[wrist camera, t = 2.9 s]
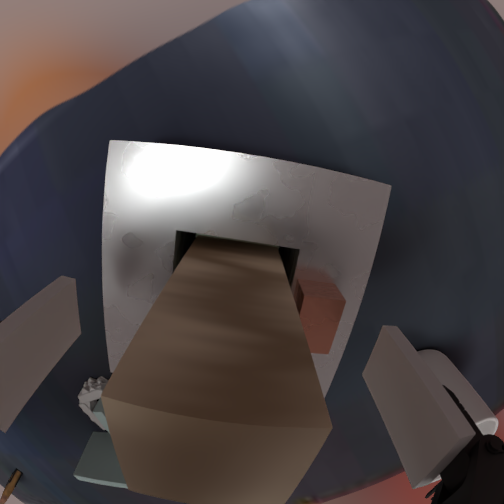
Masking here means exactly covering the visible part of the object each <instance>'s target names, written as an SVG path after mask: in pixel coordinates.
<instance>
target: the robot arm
mask: <svg viewBox="0 0 504 504" xmlns="http://www.w3.org/2000/svg"><path fill="white" fill-rule="evenodd" d="M80 334H81V328H80V321H79V312H78V303H77V292H76V279H74V278H70V277H65V276H60V277H59V278H58V279H56V280H55V281H53V282H52V283H51V284H49V285H48V286H47V287H45V288H44V289H43V290H41V291H40V292H39V293H37V294H36V295H35V296H33V297H32V298H31V299H30V300H28V301H27V302H26V303H24V304H23V305H22V306H21V307H19V308H18V309H17V310H16V311H14V312H13V313H12V314H11V315H9V316H8V317H7V318H6V319H4V320H3V321H0V430H1V431H3V432H4V433H6V431H7V430H8V428H9V427H10V425H11V424H12V422H13V421H14V419H15V418H16V417H17V415H18V414H19V412H20V411H21V410H22V408H23V407H24V405H25V404H26V403H27V401H28V400H29V399H30V397H31V396H32V395H33V393H34V392H35V391H36V389H37V388H38V387H39V385H40V384H41V383H42V381H43V380H44V379H45V377H46V376H47V375H48V374H49V372H50V371H51V370H52V368H53V367H54V366H55V365H56V363H57V362H58V361H59V360H60V358H61V357H62V356H63V355H64V353H65V352H66V351H67V350H68V349H69V347H70V346H71V345H72V344H73V343H74V341H75V340H76V339H77V338H78V337H79V335H80ZM362 376H363V378H364V380H365V382H366V384H367V386H368V389H369V391H370V393H371V395H372V397H373V399H374V401H375V404H376V406H377V408H378V410H379V412H380V414H381V417H382V419H383V421H384V423H385V426H386V428H387V430H388V432H389V434H390V437H391V439H392V441H393V444H394V446H395V448H396V450H397V453H398V455H399V457H400V460H401V462H402V464H403V467H404V469H405V472H406V474H407V476H408V479H409V481H410V484H411V486H412V488H413V489H415V488H418V487H422V486H425V485H428V484H430V483H431V482H432V481H433V480H434V479H435V478H436V477H437V476H438V475H439V474H440V476H441V479H442V481H441V482H439V483H438V484H437V485H436V486H435V487H434V488H433V489H432V490H431V491H430V492H429V493H428V494H427V495H426V497H425V498H428V497H429V496H430V495H432V494H433V493H434V492H435V494H434V497H432V498H431V500H432V503H431V504H504V442H503V441H502V440H501V439H500V438H499V437H497V436H495V435H492V434H487V435H483V434H482V433H481V431H480V430H479V428H478V427H477V425H476V424H475V422H474V421H473V419H472V418H471V417H470V415H469V414H468V412H467V411H466V410H464V409H465V408H464V407H463V405H462V404H461V403H459V402H460V401H459V400H458V398H457V397H456V396H455V394H454V393H453V392H452V391H451V390H449V389H448V388H447V387H446V386H444V385H442V384H441V383H440V381H439V380H438V379H437V377H436V376H435V375H434V373H433V372H432V371H431V369H430V368H429V367H428V365H427V364H426V363H425V361H424V360H423V359H422V357H421V356H420V355H419V354H418V352H417V351H416V350H415V348H414V347H413V346H412V345H411V343H410V342H409V341H408V339H407V338H406V337H405V336H404V334H403V333H402V332H401V331H400V329H399V328H398V327H397V326H386V325H383V326H382V329H381V331H380V334H379V336H378V339H377V341H376V344H375V346H374V348H373V351H372V353H371V356H370V358H369V360H368V362H367V365H366V367H365V369H364V371H363V374H362Z"/></svg>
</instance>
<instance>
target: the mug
mask: <svg viewBox="0 0 504 504" xmlns="http://www.w3.org/2000/svg"><path fill="white" fill-rule="evenodd" d="M418 354H419V355H420V356H421V357H422V359H423V360H424V361H425V363H426V364H427V365H428V367H429V368H430V369H431V371H432V372H433V373H434V375H435V376H436V377H437V379H438V380H439V381H440V383H441V384H442V385H444V386H446V387H447V388H448V389H449V390H451V391H452V392H453V393H454V394H455V396H456V397H457V398H458V400H459V401H460V402H459V403H461V404H462V405H463V407H464V408H465V409H464V410H466V411H467V412H468V414H469V415H470V417H471V418H472V419H473V421H474V422H475V424H476V425H477V427H478V428H479V430H480V431H481V433H482V434H483V435H487V434H492V435H494V434H495V432H496V430H497V427H498V419H497V418H496V417H495V415H494V414H493V413H492V411H491V410H490V409H489V407H488V406H487V405H486V404H485V402H484V401H483V400H482V398H481V397H480V396H479V395H478V393H477V392H476V391H475V390H474V388H473V387H472V386H471V385H470V384H469V382H468V381H467V380H466V379H465V377H464V376H463V375H462V374H461V373H460V371H459V370H458V369H457V368H456V367H455V365H454V364H453V363H452V362H451V361H450V360H449V359H448V357H447V356H446V355H444V354H443V353H441V352H440V351H437V350H432V349H426V350H421V351H418ZM440 479H441V476H440V474H439V475H438V476H437V477H436V478H435V479H434V480H433V481H432V482H435V481H437V480H440ZM432 482H431V483H432Z"/></svg>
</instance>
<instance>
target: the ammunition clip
mask: <svg viewBox="0 0 504 504" xmlns="http://www.w3.org/2000/svg"><path fill="white" fill-rule="evenodd" d="M22 474H23V473H22V472H20V471H19V470H18V469H17V468H16V470H15V471H14V472H13V473H12V475H11V477H10V479H9V481H8V483H7V484H6V487H5V489H4V491H3V494H2V497H1V500H0V504H4V503H5V502H6V501H7V499H8V498H9V496H10V495H11V493H12V491H13V490H14V488H15V487H16V485H17V483H18V481H19V479H20V477H21V476H22Z"/></svg>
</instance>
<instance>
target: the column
mask: <svg viewBox="0 0 504 504" xmlns="http://www.w3.org/2000/svg"><path fill="white" fill-rule="evenodd" d="M278 250H279V246H276V245H270V244H263V243H257V242H250V241H244V240H238V239H231V238H225V237H218V236H212V235H205V234H199V233H196V239H195V240H194V242H193V243H192V245H191V246H190V248H189V249H188V251H187V252H186V254H185V255H184V257H183V258H182V260H181V261H180V263H179V264H178V266H177V268H176V269H175V271H174V272H173V274H172V275H171V277H170V279H169V280H168V282H167V283H166V285H165V286H164V288H163V290H162V291H161V293H160V294H159V296H158V298H157V299H156V301H155V302H154V304H153V306H152V307H151V309H150V311H149V312H148V314H147V315H146V317H145V319H144V320H143V322H142V324H141V325H140V327H139V329H138V330H137V332H136V334H135V336H134V337H133V339H132V341H131V342H130V344H129V346H128V347H127V349H126V351H125V353H124V354H123V356H122V358H121V360H120V361H119V363H118V365H117V367H116V368H115V370H114V372H113V374H112V375H111V377H110V379H109V381H108V383H107V384H106V386H105V388H104V390H103V392H102V394H101V400H102V404H103V408H104V412H105V416H106V420H107V424H108V428H109V432H110V435H111V439H112V442H113V446H114V449H115V452H116V455H117V458H118V461H119V464H120V467H121V470H122V473H123V476H124V479H125V481H126V484H127V487H128V489H129V490H131V491H134V492H138V493H142V494H146V495H150V496H154V497H158V498H163V499H168V500H173V501H178V502H184V503H190V504H285V503H286V501H287V500H288V498H289V497H290V496H291V494H292V493H293V491H294V490H295V488H296V487H297V485H298V484H299V482H300V481H301V479H302V478H303V476H304V475H305V473H306V472H307V470H308V469H309V467H310V465H311V464H312V462H313V461H314V459H315V457H316V456H317V454H318V452H319V451H320V449H321V447H322V445H323V444H324V442H325V440H326V439H327V437H328V435H329V433H330V431H331V430H332V424H331V420H330V417H329V413H328V410H327V406H326V403H325V400H324V396H323V393H322V389H321V386H320V382H319V379H318V376H317V372H316V369H315V366H314V362H313V359H312V356H311V352H310V349H309V346H308V342H307V339H306V336H305V333H304V329H303V326H302V323H301V320H300V317H299V313H298V310H297V307H296V304H295V301H294V298H293V294H292V291H291V288H290V285H289V282H288V279H287V276H286V273H285V269H284V266H283V263H282V260H281V257H280V254H279V251H278Z"/></svg>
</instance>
